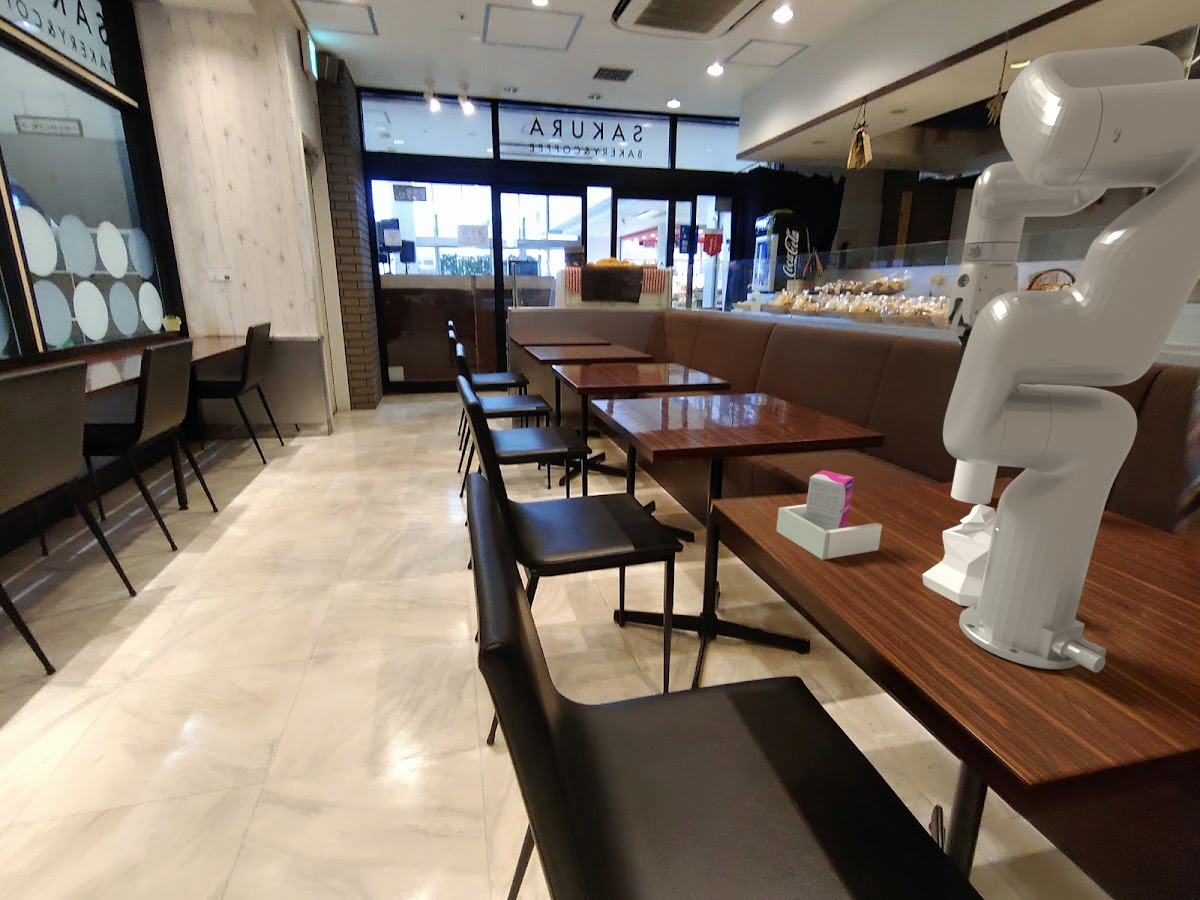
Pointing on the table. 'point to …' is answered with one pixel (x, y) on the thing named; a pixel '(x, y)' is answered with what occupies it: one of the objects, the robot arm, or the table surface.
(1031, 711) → the table surface
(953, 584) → the soft serve ice cream
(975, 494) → the cylindrical container
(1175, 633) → the table surface
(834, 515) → the supplement box
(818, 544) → the box
